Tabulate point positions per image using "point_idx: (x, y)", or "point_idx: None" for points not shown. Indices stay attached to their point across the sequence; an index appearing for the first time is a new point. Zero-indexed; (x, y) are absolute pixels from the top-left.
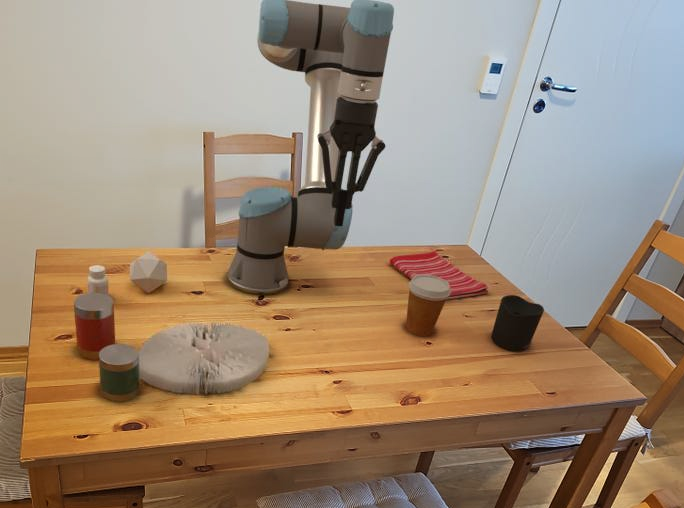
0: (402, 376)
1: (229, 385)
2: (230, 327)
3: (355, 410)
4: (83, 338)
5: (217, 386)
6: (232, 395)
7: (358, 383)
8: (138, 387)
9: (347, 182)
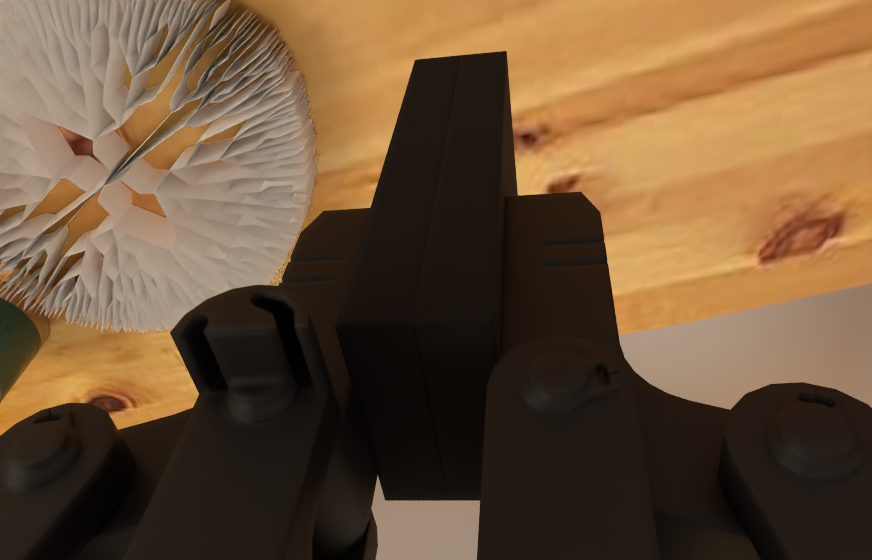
0: (827, 109)
1: None
2: (107, 4)
3: None
4: None
5: None
6: None
7: (637, 181)
8: (38, 329)
9: (484, 506)
